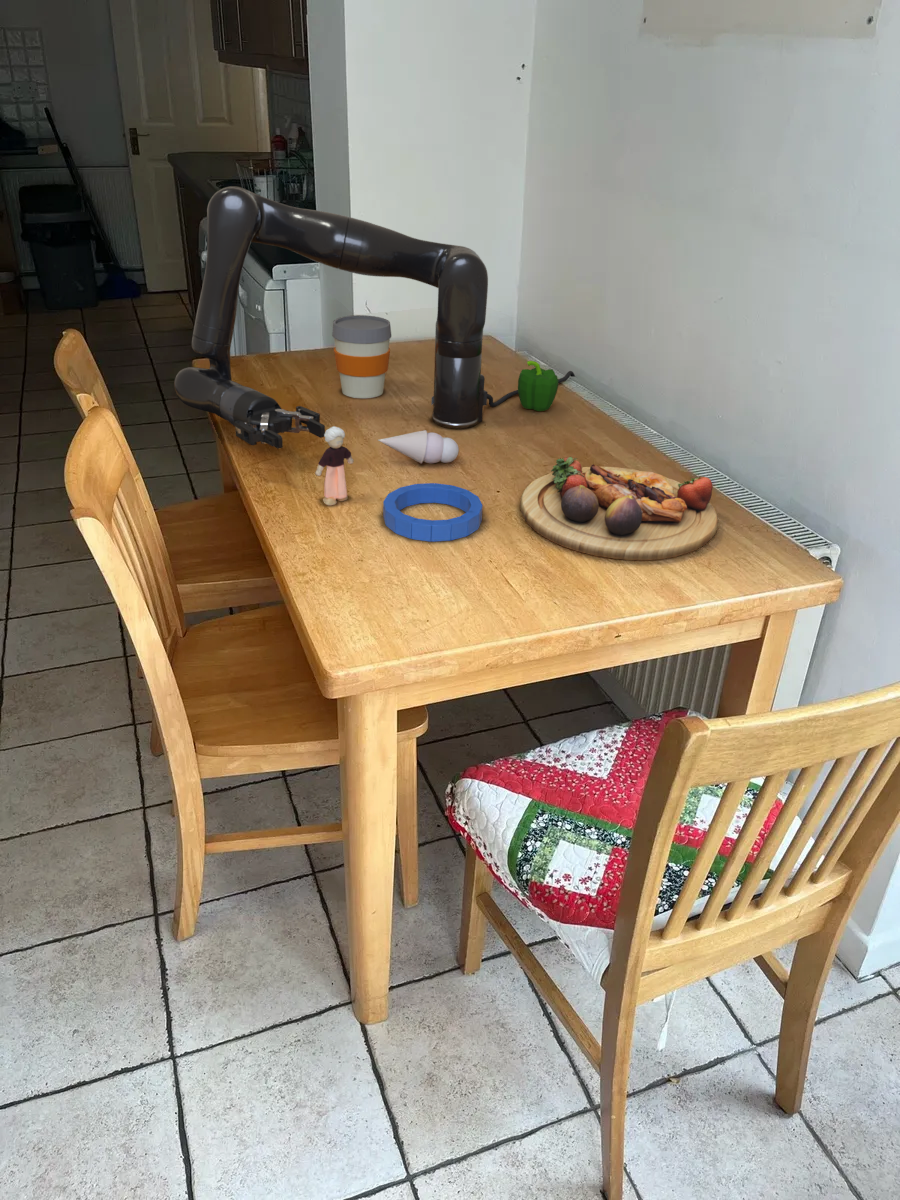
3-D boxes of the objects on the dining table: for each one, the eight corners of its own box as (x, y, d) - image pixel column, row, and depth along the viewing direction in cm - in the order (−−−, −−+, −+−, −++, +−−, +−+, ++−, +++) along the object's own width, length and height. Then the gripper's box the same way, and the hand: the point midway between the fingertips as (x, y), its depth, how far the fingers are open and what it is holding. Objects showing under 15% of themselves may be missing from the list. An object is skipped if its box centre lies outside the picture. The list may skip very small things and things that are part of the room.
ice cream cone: (373, 461, 165) (453, 472, 168) (378, 451, 159) (460, 463, 162) (376, 429, 166) (455, 441, 169) (381, 418, 160) (463, 430, 163)
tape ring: (447, 491, 155) (447, 476, 154) (500, 527, 144) (501, 511, 143) (366, 510, 148) (366, 494, 146) (416, 550, 137) (416, 533, 135)
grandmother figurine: (331, 510, 148) (329, 436, 141) (313, 504, 149) (310, 430, 143) (360, 494, 153) (359, 422, 147) (342, 488, 155) (340, 417, 148)
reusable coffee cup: (402, 390, 201) (403, 321, 193) (368, 405, 192) (367, 333, 184) (357, 379, 206) (356, 311, 198) (322, 393, 197) (319, 323, 189)
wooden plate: (712, 490, 160) (721, 445, 156) (720, 576, 133) (732, 526, 129) (532, 469, 165) (536, 425, 161) (505, 548, 138) (509, 499, 134)
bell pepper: (561, 406, 196) (566, 360, 190) (547, 417, 189) (551, 369, 184) (525, 398, 199) (529, 353, 194) (510, 409, 192) (513, 363, 187)
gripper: (212, 398, 156) (264, 425, 146) (282, 383, 165) (336, 407, 155) (216, 439, 160) (267, 468, 150) (284, 422, 169) (337, 448, 159)
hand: (302, 437), depth 153 cm, fingers open, 8 cm apart
